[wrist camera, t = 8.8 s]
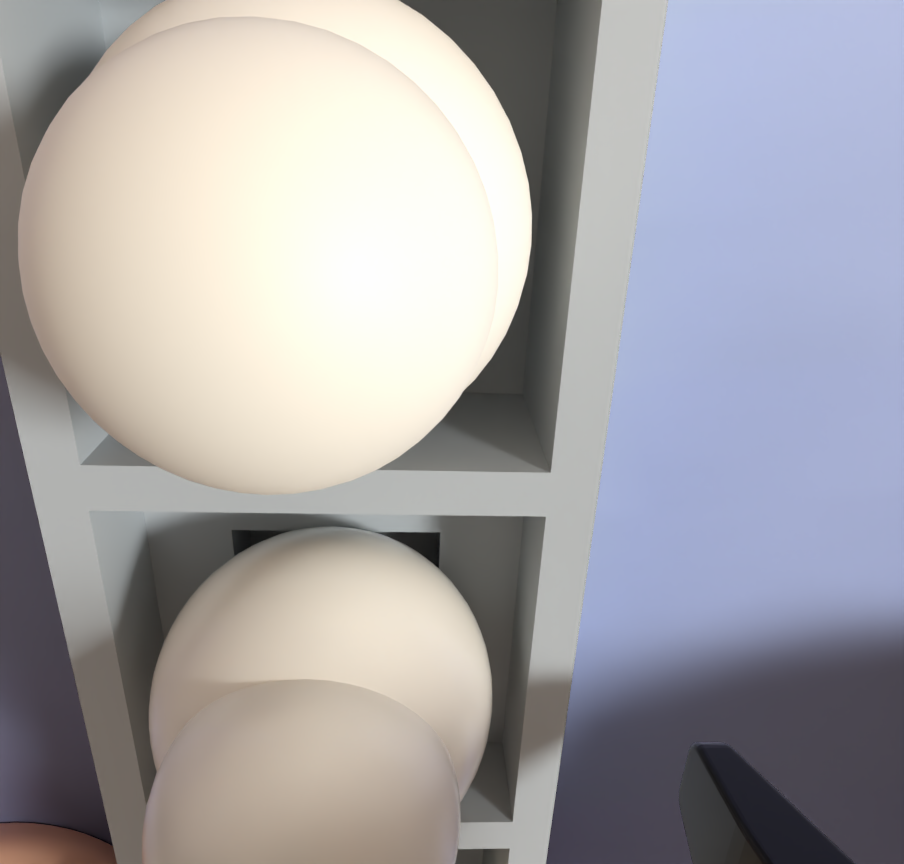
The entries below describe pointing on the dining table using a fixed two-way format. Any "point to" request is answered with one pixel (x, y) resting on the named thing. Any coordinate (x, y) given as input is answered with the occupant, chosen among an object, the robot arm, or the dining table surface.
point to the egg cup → (51, 846)
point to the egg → (317, 708)
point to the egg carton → (321, 323)
